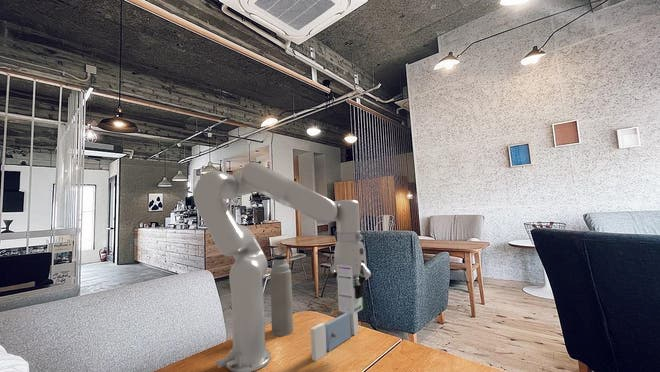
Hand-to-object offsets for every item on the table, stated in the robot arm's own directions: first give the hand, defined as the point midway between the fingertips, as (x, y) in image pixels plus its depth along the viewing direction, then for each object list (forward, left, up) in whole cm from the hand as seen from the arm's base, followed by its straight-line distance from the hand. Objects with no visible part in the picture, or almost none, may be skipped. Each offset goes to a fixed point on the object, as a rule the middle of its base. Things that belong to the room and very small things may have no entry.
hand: (350, 295), depth 86 cm
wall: (+1, +8, -17) cm, 19 cm away
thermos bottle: (-2, +32, -18) cm, 36 cm away
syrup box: (0, 0, -5) cm, 5 cm away
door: (+3, +7, -17) cm, 19 cm away
